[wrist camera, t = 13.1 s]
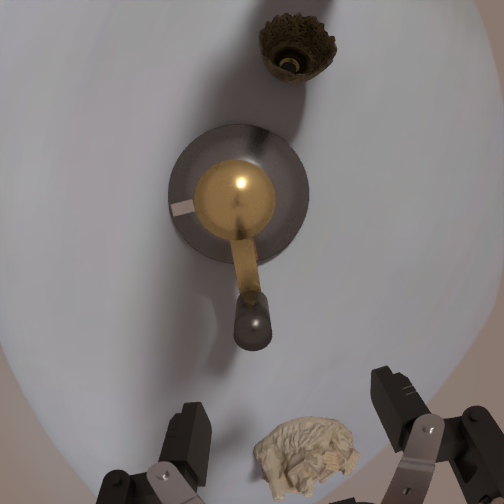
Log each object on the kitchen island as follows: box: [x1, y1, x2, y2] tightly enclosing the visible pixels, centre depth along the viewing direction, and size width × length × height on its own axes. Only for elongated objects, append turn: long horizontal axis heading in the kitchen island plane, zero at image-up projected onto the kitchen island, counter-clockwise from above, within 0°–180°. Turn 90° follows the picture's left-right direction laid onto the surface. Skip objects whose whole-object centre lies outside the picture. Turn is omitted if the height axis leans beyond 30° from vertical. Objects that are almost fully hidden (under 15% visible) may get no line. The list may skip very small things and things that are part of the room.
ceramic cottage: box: [254, 416, 360, 501], centre depth 38 cm, size 16×16×15 cm
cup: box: [259, 13, 337, 83], centre depth 26 cm, size 8×7×8 cm
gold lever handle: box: [194, 159, 276, 351], centre depth 25 cm, size 15×7×8 cm, turn 9°
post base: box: [168, 124, 309, 264], centre depth 31 cm, size 16×16×6 cm
